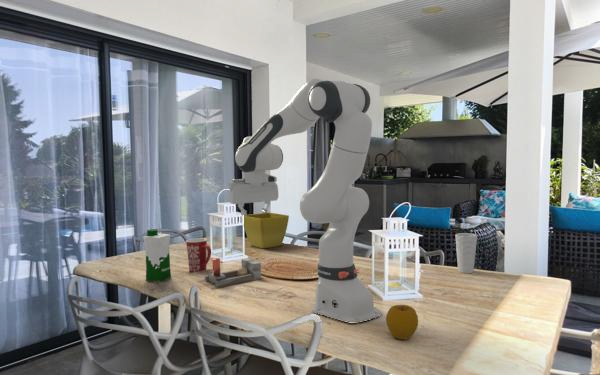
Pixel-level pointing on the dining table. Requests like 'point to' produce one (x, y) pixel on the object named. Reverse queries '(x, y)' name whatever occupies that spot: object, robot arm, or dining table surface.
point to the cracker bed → (237, 276)
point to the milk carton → (157, 255)
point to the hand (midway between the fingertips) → (254, 213)
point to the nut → (242, 271)
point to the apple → (402, 321)
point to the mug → (198, 254)
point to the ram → (215, 272)
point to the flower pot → (265, 229)
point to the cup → (466, 251)
